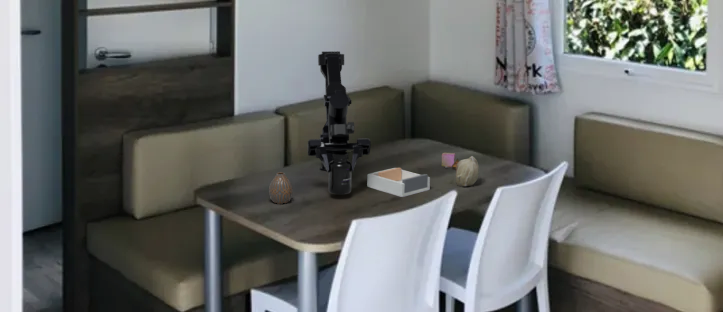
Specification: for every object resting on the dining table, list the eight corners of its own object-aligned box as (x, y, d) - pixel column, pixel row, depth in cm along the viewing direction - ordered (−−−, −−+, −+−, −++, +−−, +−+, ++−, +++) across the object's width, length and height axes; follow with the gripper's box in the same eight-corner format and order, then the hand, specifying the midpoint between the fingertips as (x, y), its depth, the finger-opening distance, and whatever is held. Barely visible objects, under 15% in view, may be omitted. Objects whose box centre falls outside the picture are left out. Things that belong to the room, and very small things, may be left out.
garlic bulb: (467, 188, 308) (473, 158, 309) (484, 190, 301) (490, 159, 302) (444, 183, 303) (450, 152, 304) (461, 185, 296) (466, 153, 297)
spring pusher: (373, 182, 301) (374, 171, 300) (394, 177, 307) (394, 166, 306) (381, 184, 299) (381, 173, 298) (401, 179, 304) (401, 168, 304)
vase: (279, 197, 289) (278, 169, 287) (297, 201, 285) (297, 172, 283) (264, 203, 283) (263, 174, 281) (282, 207, 280) (282, 177, 278)
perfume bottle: (435, 170, 323) (435, 157, 322) (443, 161, 334) (443, 148, 333) (470, 173, 319) (471, 159, 318) (477, 164, 330) (477, 151, 329)
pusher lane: (367, 186, 301) (367, 171, 300) (394, 179, 309) (395, 164, 308) (402, 197, 290) (402, 180, 289) (429, 189, 298) (429, 174, 297)
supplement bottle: (348, 195, 285) (348, 156, 282) (326, 194, 287) (326, 154, 284) (353, 189, 292) (353, 150, 289) (331, 187, 293) (331, 149, 290)
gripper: (307, 112, 286) (309, 158, 278) (370, 112, 288) (374, 157, 280) (306, 132, 296) (308, 177, 288) (367, 131, 298) (371, 176, 290)
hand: (340, 171), depth 286 cm, fingers closed on supplement bottle, 7 cm apart
